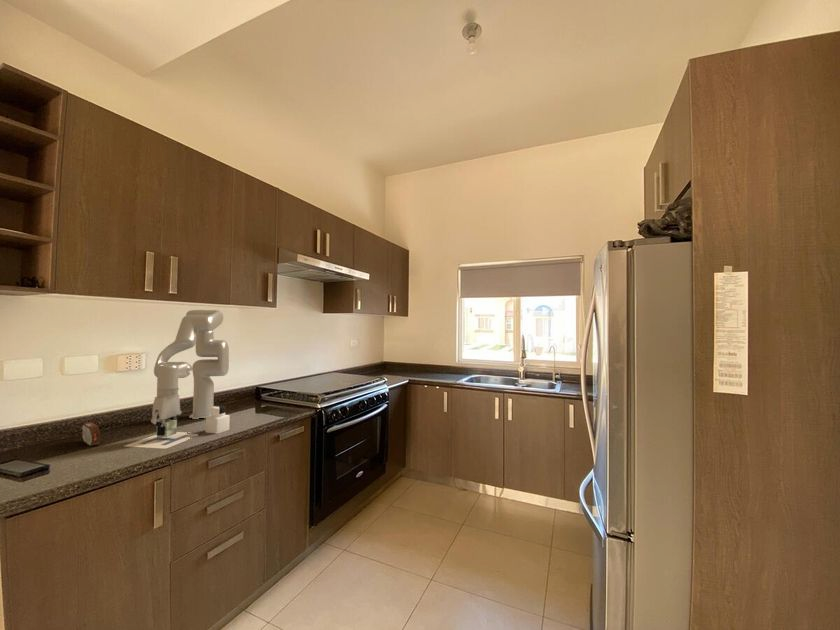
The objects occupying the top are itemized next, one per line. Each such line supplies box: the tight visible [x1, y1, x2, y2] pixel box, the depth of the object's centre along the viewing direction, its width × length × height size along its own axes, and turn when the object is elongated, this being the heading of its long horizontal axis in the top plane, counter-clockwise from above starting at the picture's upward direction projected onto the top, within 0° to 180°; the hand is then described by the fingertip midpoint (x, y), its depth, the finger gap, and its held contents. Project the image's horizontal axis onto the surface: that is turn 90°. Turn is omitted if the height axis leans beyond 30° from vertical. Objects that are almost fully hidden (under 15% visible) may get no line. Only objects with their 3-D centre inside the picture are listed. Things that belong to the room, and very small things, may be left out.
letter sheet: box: [124, 431, 190, 450], centre depth 148 cm, size 20×20×1 cm
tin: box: [81, 421, 101, 447], centre depth 142 cm, size 15×3×8 cm, turn 57°
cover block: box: [157, 418, 178, 437], centre depth 148 cm, size 5×5×6 cm
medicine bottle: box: [205, 404, 231, 435], centre depth 160 cm, size 7×7×12 cm
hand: (166, 432), depth 148 cm, fingers closed on cover block, 5 cm apart
